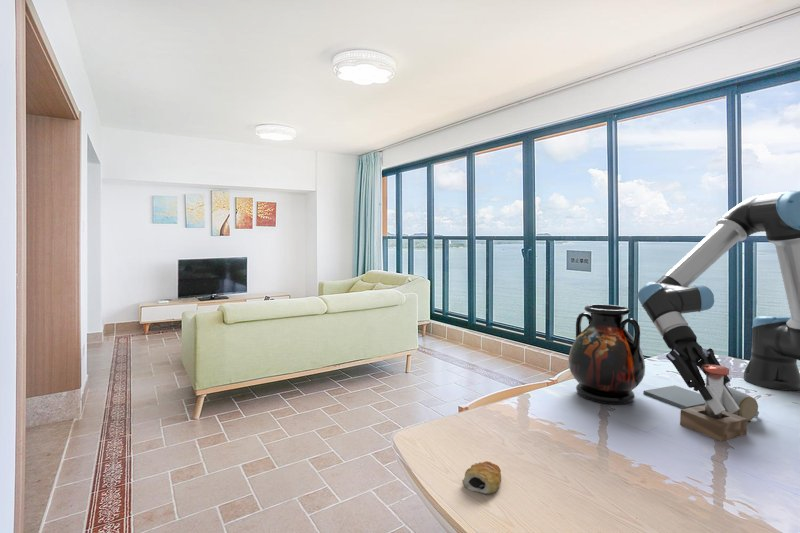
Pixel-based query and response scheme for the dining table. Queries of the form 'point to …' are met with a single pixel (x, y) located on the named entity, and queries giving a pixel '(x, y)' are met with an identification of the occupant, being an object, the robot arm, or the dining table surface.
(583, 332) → the amphora vase
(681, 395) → the mat
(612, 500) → the dining table surface
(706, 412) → the red-capped mushroom
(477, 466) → the pastry
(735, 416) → the eye block
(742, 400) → the ceramic mug
